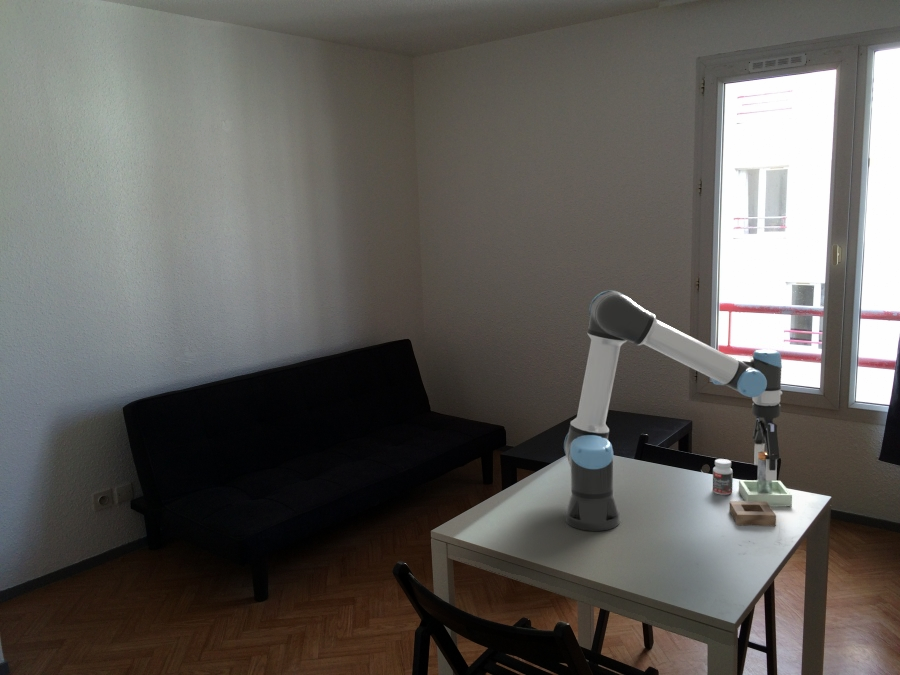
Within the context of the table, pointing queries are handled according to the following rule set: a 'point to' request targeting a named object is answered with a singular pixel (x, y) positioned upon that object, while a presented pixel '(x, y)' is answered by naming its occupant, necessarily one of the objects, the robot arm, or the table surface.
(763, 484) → the pin
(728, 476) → the pill bottle
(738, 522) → the socket
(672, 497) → the table surface
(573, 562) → the table surface
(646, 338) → the robot arm
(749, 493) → the tray
